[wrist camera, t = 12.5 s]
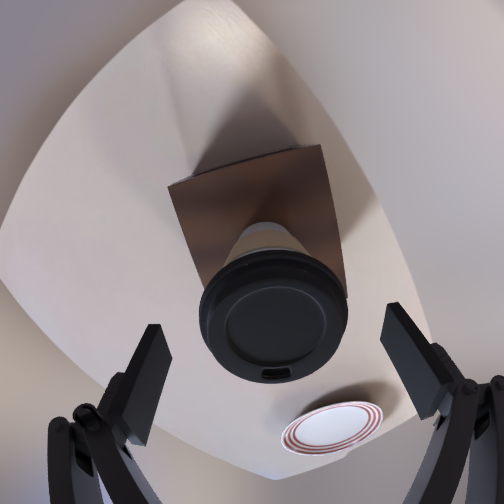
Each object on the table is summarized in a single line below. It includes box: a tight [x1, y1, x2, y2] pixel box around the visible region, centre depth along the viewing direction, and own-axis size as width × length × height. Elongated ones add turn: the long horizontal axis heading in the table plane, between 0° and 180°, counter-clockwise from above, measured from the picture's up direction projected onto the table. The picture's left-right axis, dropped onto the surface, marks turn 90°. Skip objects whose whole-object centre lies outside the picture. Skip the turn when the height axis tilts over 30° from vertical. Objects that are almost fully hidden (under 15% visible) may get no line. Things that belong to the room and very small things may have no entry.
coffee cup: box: [199, 222, 348, 384], centre depth 22 cm, size 9×9×15 cm
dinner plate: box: [281, 401, 383, 456], centre depth 58 cm, size 28×27×3 cm
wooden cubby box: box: [168, 144, 348, 298], centre depth 34 cm, size 18×16×12 cm
